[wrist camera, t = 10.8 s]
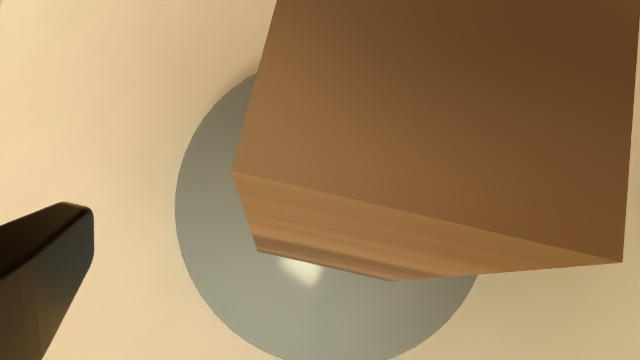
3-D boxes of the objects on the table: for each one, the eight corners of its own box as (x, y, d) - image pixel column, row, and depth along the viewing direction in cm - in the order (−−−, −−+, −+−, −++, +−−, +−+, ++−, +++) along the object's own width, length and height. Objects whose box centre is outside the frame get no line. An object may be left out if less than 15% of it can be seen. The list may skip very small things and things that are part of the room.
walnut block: (389, 281, 18) (621, 262, 6) (257, 251, 18) (230, 170, 6) (412, 154, 20) (646, -70, 7) (288, 125, 19) (319, -156, 7)
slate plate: (499, 344, 19) (514, 348, 18) (187, 381, 18) (181, 388, 17) (452, 62, 22) (463, 49, 21) (174, 75, 21) (169, 62, 19)
